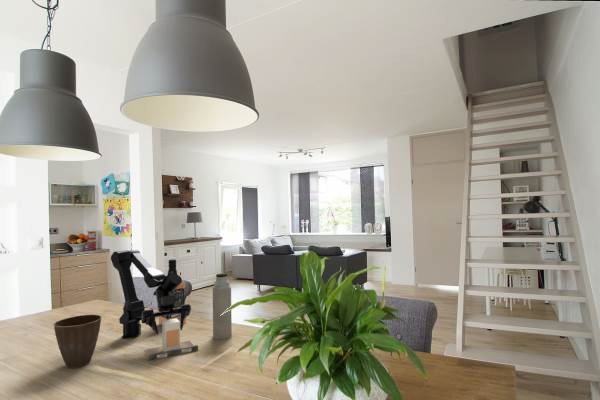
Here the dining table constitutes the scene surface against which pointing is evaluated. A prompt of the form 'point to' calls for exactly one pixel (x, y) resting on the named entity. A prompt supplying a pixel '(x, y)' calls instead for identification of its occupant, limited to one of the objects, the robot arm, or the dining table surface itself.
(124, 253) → the robot arm
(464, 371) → the dining table surface
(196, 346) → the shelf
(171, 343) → the carton
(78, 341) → the plant pot
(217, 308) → the thermos bottle
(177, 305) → the whiskey bottle
